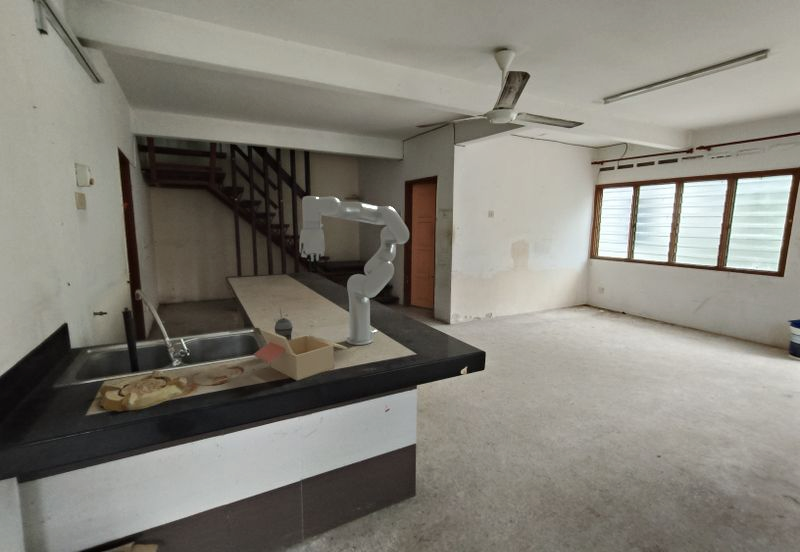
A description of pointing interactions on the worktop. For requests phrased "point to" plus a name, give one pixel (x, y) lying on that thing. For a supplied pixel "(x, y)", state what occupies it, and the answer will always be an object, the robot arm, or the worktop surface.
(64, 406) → the worktop surface
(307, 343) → the carton
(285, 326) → the grey vase with twigs
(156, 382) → the tan brown flat piece
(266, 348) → the flap
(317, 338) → the rear flap
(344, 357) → the worktop surface
